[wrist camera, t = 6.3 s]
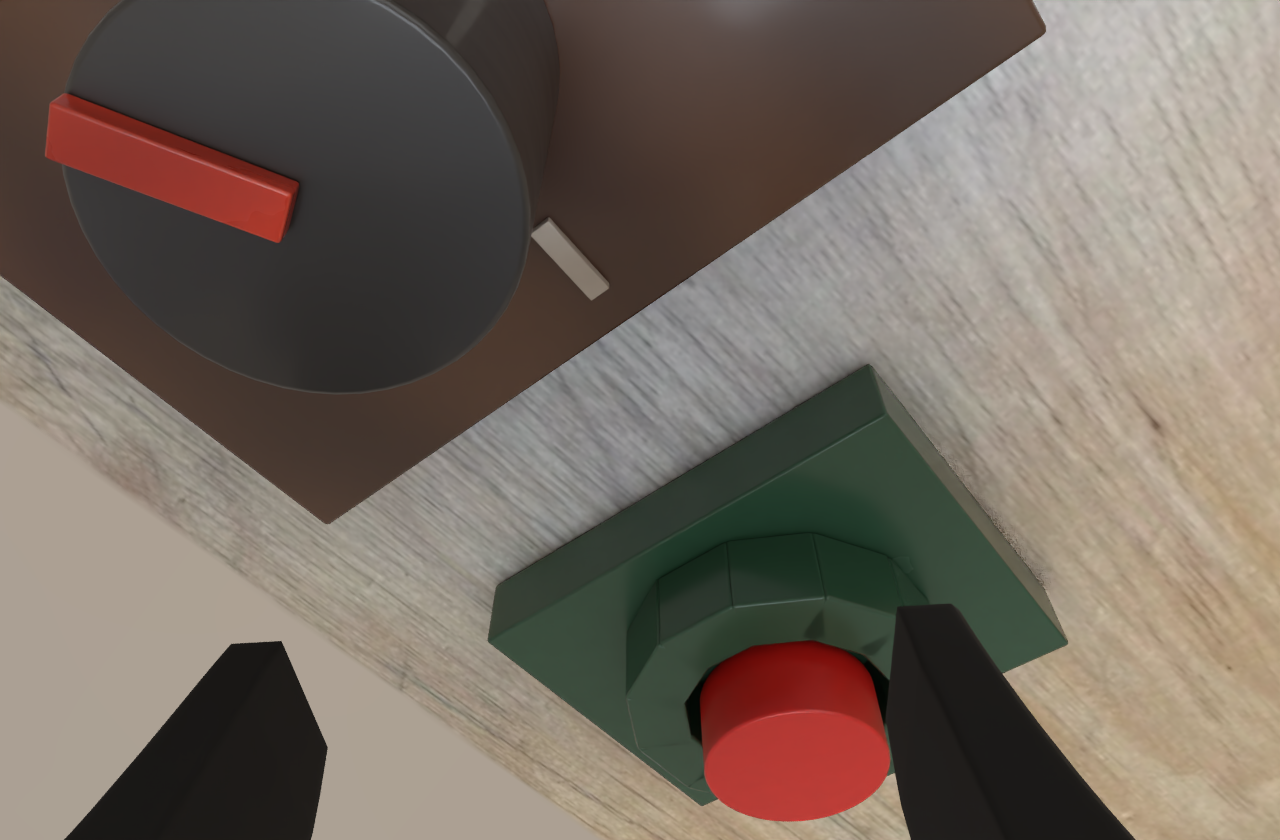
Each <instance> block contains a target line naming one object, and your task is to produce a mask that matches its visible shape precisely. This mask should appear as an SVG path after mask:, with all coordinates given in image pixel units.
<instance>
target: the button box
mask: <svg viewBox="0 0 1280 840" xmlns="http://www.w3.org/2000/svg"><path fill="white" fill-rule="evenodd" d="M950 603H951V604H952V605H954V606H955V607H956V608H957V609H959V610H960V612H961V613H962V615H963V616H964V618H965V620H966V621H967V623H968V624H969V626H970V627H971V629H972V630H973V632H974V633H975V635H976V636H977V638H978V639H979V641H980V642H981V644H982V645H983V647H984V648H985V650H986V651H987V653H988V654H989V656H990V657H991V659H992V660H993V661H994V663H995V664H996V666H997V667H998V669H999V670H1000V671H1001V673H1005V672H1007V671H1009V670H1011V669H1014V668H1016V667H1018V666H1020V665H1023V664H1025V663H1027V662H1029V661H1032V660H1034V659H1036V658H1038V657H1041V656H1043V655H1045V654H1047V653H1050V652H1052V651H1054V650H1057V649H1059V648H1061V647H1063V646H1066V645H1067V644H1068V640H1067V638H1066V636H1065V634H1064V631H1063V629H1062V627H1061V625H1060V622H1059V620H1058V618H1057V616H1056V614H1055V611H1054V609H1053V607H1052V605H1051V603H1050V600H1049V598H1048V596H1047V594H1046V591H1045V589H1044V588H1043V587H1042V585H1041V584H1040V583H1039V581H1038V580H1037V579H1036V578H1035V576H1034V575H1033V574H1032V572H1031V571H1030V570H1029V568H1028V567H1027V566H1026V565H1025V563H1024V562H1023V561H1022V559H1021V558H1020V557H1019V556H1018V554H1017V553H1016V552H1015V550H1014V549H1013V548H1012V546H1011V545H1010V544H1009V543H1008V541H1007V540H1006V539H1005V537H1004V536H1003V535H1002V534H1001V532H1000V531H999V530H998V528H997V527H996V526H995V525H994V523H993V522H992V521H991V519H990V518H989V517H988V515H987V514H986V513H985V512H984V510H983V509H982V508H981V506H980V505H979V504H978V503H977V501H976V500H975V499H974V497H973V496H972V495H971V493H970V492H969V491H968V490H967V488H966V487H965V486H964V484H963V483H962V482H961V481H960V479H959V478H958V477H957V475H956V474H955V473H954V471H953V470H952V469H951V468H950V466H949V465H948V464H947V462H946V461H945V460H944V459H943V457H942V456H941V455H940V453H939V452H938V451H937V450H936V448H935V447H934V446H933V444H932V443H931V442H930V440H929V439H928V438H927V437H926V435H925V434H924V433H923V431H922V430H921V429H920V428H919V426H918V425H917V424H916V422H915V421H914V420H913V418H912V417H911V416H910V415H909V413H908V412H907V411H906V409H905V408H904V407H903V406H902V404H901V403H900V402H899V400H898V399H897V398H896V397H895V395H894V394H893V393H892V391H891V390H890V389H889V387H888V386H887V385H886V384H885V382H884V381H883V380H882V378H881V377H880V376H879V375H878V373H877V372H876V371H875V369H874V368H873V367H872V366H871V365H870V364H868V365H866V366H864V367H863V368H861V369H859V370H858V371H856V372H854V373H853V374H851V375H849V376H848V377H846V378H844V379H843V380H841V381H839V382H837V383H836V384H834V385H832V386H831V387H829V388H827V389H826V390H824V391H822V392H821V393H819V394H817V395H816V396H814V397H812V398H811V399H809V400H807V401H806V402H804V403H802V404H801V405H799V406H797V407H796V408H794V409H792V410H791V411H789V412H787V413H786V414H784V415H782V416H781V417H779V418H777V419H776V420H774V421H772V422H770V423H769V424H767V425H765V426H764V427H762V428H760V429H759V430H757V431H755V432H754V433H752V434H750V435H749V436H747V437H745V438H744V439H742V440H740V441H739V442H737V443H735V444H734V445H732V446H730V447H729V448H727V449H725V450H724V451H722V452H720V453H719V454H717V455H715V456H714V457H712V458H710V459H709V460H707V461H705V462H703V463H702V464H700V465H698V466H697V467H695V468H693V469H692V470H690V471H688V472H687V473H685V474H683V475H682V476H680V477H678V478H677V479H675V480H673V481H672V482H670V483H668V484H667V485H665V486H663V487H662V488H660V489H658V490H657V491H655V492H653V493H652V494H650V495H648V496H647V497H645V498H643V499H642V500H640V501H638V502H636V503H635V504H633V505H631V506H630V507H628V508H626V509H625V510H623V511H621V512H620V513H618V514H616V515H615V516H613V517H611V518H610V519H608V520H606V521H605V522H603V523H601V524H600V525H598V526H596V527H595V528H593V529H591V530H590V531H588V532H586V533H585V534H583V535H581V536H580V537H578V538H576V539H575V540H573V541H571V542H569V543H568V544H566V545H564V546H563V547H561V548H559V549H558V550H556V551H554V552H553V553H551V554H549V555H548V556H546V557H544V558H543V559H541V560H539V561H538V562H536V563H534V564H533V565H531V566H529V567H528V568H526V569H524V570H523V571H521V572H519V573H518V574H516V575H514V576H513V577H511V578H509V579H508V580H506V581H504V582H502V583H501V584H499V585H498V586H497V587H496V590H495V596H494V602H493V609H492V615H491V621H490V628H489V634H488V642H489V643H490V644H491V645H493V646H494V647H495V648H496V649H498V650H499V651H500V652H502V653H503V654H504V655H506V656H507V657H508V658H509V659H511V660H512V661H513V662H515V663H516V664H517V665H519V666H520V667H521V668H522V669H524V670H525V671H526V672H528V673H529V674H530V675H532V676H533V677H534V678H535V679H537V680H538V681H539V682H541V683H542V684H543V685H545V686H546V687H547V688H548V689H550V690H551V691H552V692H554V693H555V694H556V695H558V696H559V697H560V698H561V699H563V700H564V701H565V702H567V703H568V704H569V705H571V706H572V707H573V708H574V709H576V710H577V711H578V712H580V713H581V714H582V715H584V716H585V717H586V718H587V719H589V720H590V721H591V722H593V723H594V724H595V725H597V726H598V727H599V728H600V729H602V730H603V731H604V732H606V733H607V734H608V735H610V736H611V737H612V738H613V739H615V740H616V741H617V742H619V743H620V744H621V745H623V746H624V747H625V748H626V749H628V750H629V751H630V752H632V753H633V754H634V755H636V756H637V757H638V758H639V759H641V760H642V761H643V762H645V763H646V764H647V765H648V766H650V767H651V768H652V769H654V770H655V771H656V772H658V773H659V774H660V775H661V776H663V777H664V778H665V779H667V780H668V781H669V782H671V783H672V784H673V785H674V786H676V787H677V788H678V789H680V790H681V791H682V792H684V793H685V794H686V795H687V796H689V797H690V798H691V799H693V800H694V801H695V802H697V803H698V804H699V805H700V806H704V805H706V804H708V803H710V802H713V801H715V800H717V799H718V798H717V797H716V796H715V795H714V794H713V792H712V791H711V790H710V788H709V786H708V784H707V782H706V779H705V776H704V762H703V746H702V729H701V713H700V694H701V690H702V688H703V685H704V683H705V681H706V679H707V677H708V676H709V675H710V673H711V672H712V671H713V670H714V669H715V668H716V667H717V666H718V665H719V664H720V663H721V662H723V661H724V660H726V659H728V658H730V657H732V656H734V655H736V654H738V653H740V652H742V651H744V650H746V649H748V648H750V647H752V646H758V645H768V644H779V643H789V642H799V641H810V640H812V641H816V642H820V643H823V644H827V645H830V646H834V647H837V648H841V649H843V650H845V651H847V652H848V653H850V654H851V655H853V656H854V657H856V658H857V659H858V660H859V661H860V662H861V663H862V664H863V665H864V666H865V668H866V669H867V670H868V672H869V673H870V675H871V677H872V680H873V683H874V687H875V691H876V696H877V700H878V704H879V708H880V712H881V717H882V721H883V725H884V729H885V734H886V738H887V742H888V746H889V751H890V767H889V770H888V773H887V776H888V775H891V774H893V773H895V769H894V764H893V758H892V753H891V747H890V741H889V736H888V730H887V724H886V710H887V701H888V691H889V681H890V672H891V662H892V652H893V643H894V633H895V623H896V613H897V606H915V605H933V604H950Z"/></svg>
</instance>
